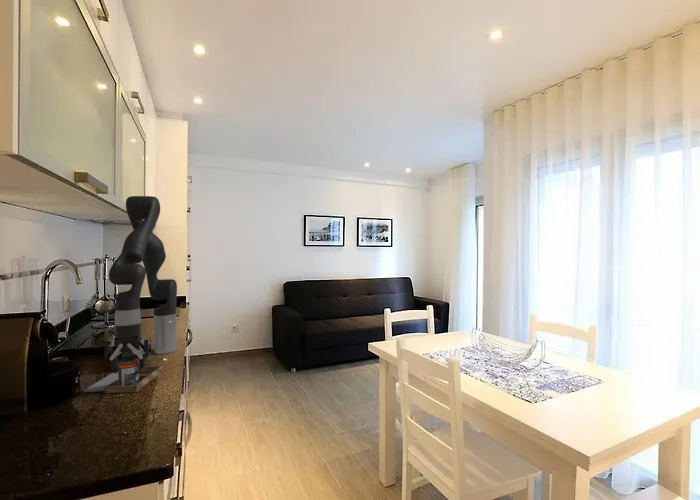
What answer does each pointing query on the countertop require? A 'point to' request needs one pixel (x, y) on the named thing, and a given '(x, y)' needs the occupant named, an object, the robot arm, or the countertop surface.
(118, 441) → the countertop surface
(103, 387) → the slate mat
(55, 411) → the countertop surface
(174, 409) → the countertop surface
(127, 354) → the supplement bottle
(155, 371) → the two bay tray
